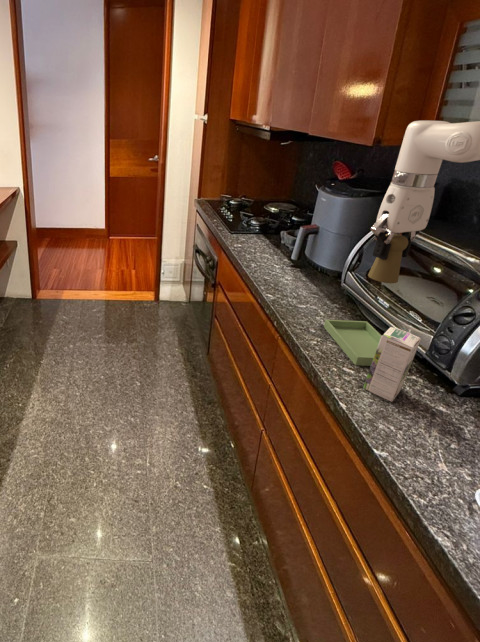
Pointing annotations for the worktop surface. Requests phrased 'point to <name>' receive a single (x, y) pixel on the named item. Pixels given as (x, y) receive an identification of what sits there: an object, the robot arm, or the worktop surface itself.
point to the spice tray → (355, 339)
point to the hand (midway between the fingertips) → (389, 255)
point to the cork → (389, 262)
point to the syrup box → (391, 363)
